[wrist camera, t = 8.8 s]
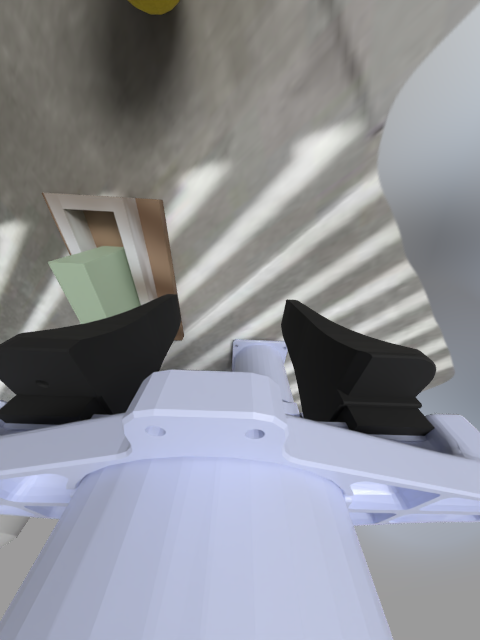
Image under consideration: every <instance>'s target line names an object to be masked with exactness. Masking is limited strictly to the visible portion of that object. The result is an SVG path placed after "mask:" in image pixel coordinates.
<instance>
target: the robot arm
mask: <svg viewBox="0 0 480 640" xmlns="http://www.w3.org/2000/svg"><path fill="white" fill-rule="evenodd" d="M180 324H181V315H180V309H179V302H178V296H177V294H166V295H163V296H161V297H158V298H156V299H154V300H152V301H150V302H147V303H145V304H143V305H141V306H138V307H136V308H133V309H131V310H129V311H126V312H123V313H121V314H117V315H114V316H111V317H108V318H104V319H100V320H96V321H93V322H89V323H84V324H79V325H74V326H69V327H63V328H57V329H50V330H43V331H35V332H27V333H21V334H18V335H16V336H14V337H12V338H11V339H9V340H7V341H5V342H4V343H2V344H0V380H1V381H2V382H3V383H4V384H5V385H6V386H7V387H9V388H10V389H11V390H12V391H13V392H14V393H15V394H16V396H15V397H14V398H12V399H11V400H10V401H9V402H6V401H3V400H0V515H12V516H24V517H37V518H49V519H59V521H58V523H57V524H56V526H55V528H54V529H53V531H52V533H51V535H50V536H49V538H48V540H47V542H46V543H45V545H44V547H43V548H42V550H41V552H40V554H39V556H38V557H37V559H36V561H35V562H34V564H33V566H32V567H31V569H30V571H29V573H28V574H27V576H26V578H25V580H24V581H23V583H22V585H21V586H20V588H19V590H18V592H17V593H16V595H15V597H14V599H13V600H12V602H11V604H10V606H9V607H8V609H7V611H6V612H5V614H4V616H3V617H2V619H1V621H0V640H393V637H392V634H391V632H390V629H389V626H388V623H387V620H386V617H385V615H384V611H383V609H382V606H381V603H380V600H379V597H378V594H377V591H376V589H375V586H374V583H373V580H372V577H371V575H370V571H369V569H368V566H367V563H366V560H365V557H364V554H363V551H362V549H361V546H360V543H359V540H358V537H357V534H356V532H355V529H354V526H359V525H380V524H401V523H428V522H480V432H479V431H478V430H477V429H476V428H475V427H474V426H473V425H471V424H470V422H468V421H467V420H466V419H465V418H464V417H463V416H462V415H458V414H430V415H427V416H424V415H423V414H422V413H421V412H420V410H419V409H418V408H421V407H422V404H421V403H420V402H419V401H418V400H417V399H416V396H417V395H418V394H419V393H420V392H421V391H422V390H423V389H424V388H425V387H426V386H427V385H428V384H429V383H430V382H431V380H432V379H433V378H434V375H435V373H436V365H435V364H434V363H433V361H432V360H431V359H429V358H428V357H427V356H426V355H424V354H423V353H422V352H421V351H419V350H417V349H413V348H409V347H405V346H401V345H396V344H392V343H388V342H385V341H381V340H378V339H375V338H371V337H368V336H365V335H363V334H360V333H357V332H354V331H352V330H349V329H347V328H345V327H343V326H340V325H338V324H336V323H334V322H332V321H330V320H328V319H327V318H325V317H323V316H321V315H320V314H318V313H316V312H315V311H313V310H312V309H310V308H309V307H307V306H305V305H304V304H302V303H301V302H299V301H297V300H286V305H285V309H284V314H283V319H282V323H281V327H282V333H283V338H284V341H265V340H241V339H235V340H234V341H233V356H232V372H229V371H203V370H177V369H172V370H165V371H159V370H160V367H161V365H162V362H163V360H164V358H165V356H166V354H167V352H168V350H169V348H170V347H171V345H172V343H173V341H174V339H175V337H176V335H177V333H178V330H179V327H180ZM235 345H238V346H235ZM283 347H285V348H283ZM287 351H288V352H289V355H290V358H291V361H292V364H293V367H294V371H295V375H296V380H297V384H298V389H299V394H300V400H301V406H302V412H303V413H300V414H299V410H298V407H297V403H294V401H293V397H292V393H291V390H290V386H289V382H288V379H287V375H286V371H285V367H284V362H285V358H286V354H287Z"/></svg>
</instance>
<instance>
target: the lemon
mask: <svg viewBox="0 0 480 640" xmlns="http://www.w3.org/2000/svg"><path fill="white" fill-rule="evenodd" d="M128 1H129V2H130V3H131V4H132V5H133V6H135V7H136V8H138V9H140V10H142V11H144V12H146V13H148V14H157V15H162V14H164V13H166V12H168V11H170V10H172V9H173V8H174V7H175V6H176V5H177V3H178V2H179V1H180V0H128Z"/></svg>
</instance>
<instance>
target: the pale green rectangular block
mask: <svg viewBox="0 0 480 640" xmlns="http://www.w3.org/2000/svg"><path fill="white" fill-rule="evenodd" d="M48 263H49V265H50V267H51V269H52V271H53V273H54V275H55V276H56V278H57V280H58V282H59V284H60V286H61V288H62V289H63V291H64V293H65V295H66V297H67V299H68V301H69V302H70V304H71V306H72V308H73V310H74V312H75V314H76V315H77V317H78V319H79V321H80V323H81V324H84V323H89V322H93V321H96V320H100V319H104V318H108V317H111V316H114V315H117V314H121V313H123V312H126V311H129V310H131V309H133V308H136V307H138V306H141V304H140V300H139V297H138V294H137V290H136V287H135V283H134V280H133V277H132V273H131V270H130V266H129V263H128V259H127V256H126V253H125V249H124V247H115V246H101V247H98V248H94V249H91V250H87V251H84V252H81V253H77V254H74V255H70V256H67V257H63V258H60V259H57V260H53V261H50V262H48Z"/></svg>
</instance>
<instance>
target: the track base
mask: <svg viewBox="0 0 480 640" xmlns="http://www.w3.org/2000/svg"><path fill="white" fill-rule="evenodd" d="M42 195H43V197H44V199H45V201H46V204H47V206H48V208H49V210H50V212H51V214H52V217H53V219H54V221H55V223H56V225H57V228H58V230H59V232H60V234H61V236H62V238H63V241H64V243H65V245H66V247H67V249H68V251H69V254H70V255H74V254H77V253H81V252H84V251H87V250H91V249H94V248H98V247H101V246H115V247H124V249H125V253H126V256H127V259H128V263H129V266H130V270H131V273H132V277H133V280H134V283H135V287H136V290H137V294H138V297H139V300H140V304H141V305H143V304H145V303H147V302H150V301H152V300H154V299H156V298H158V297H161V296H163V295H166V294H177V289H176V282H175V276H174V270H173V263H172V257H171V251H170V245H169V238H168V232H167V226H166V219H165V213H164V207H163V200H156V199H139V198H124V197H108V196H91V195H74V194H57V193H42ZM177 296H178V295H177ZM178 302H179V301H178ZM179 309H180V308H179ZM180 315H181V314H180ZM183 337H184V333H183V326H182V320H181V324H180V327H179V330H178V333H177V335H176V337H175V339H174V340H182V339H183Z"/></svg>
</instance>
